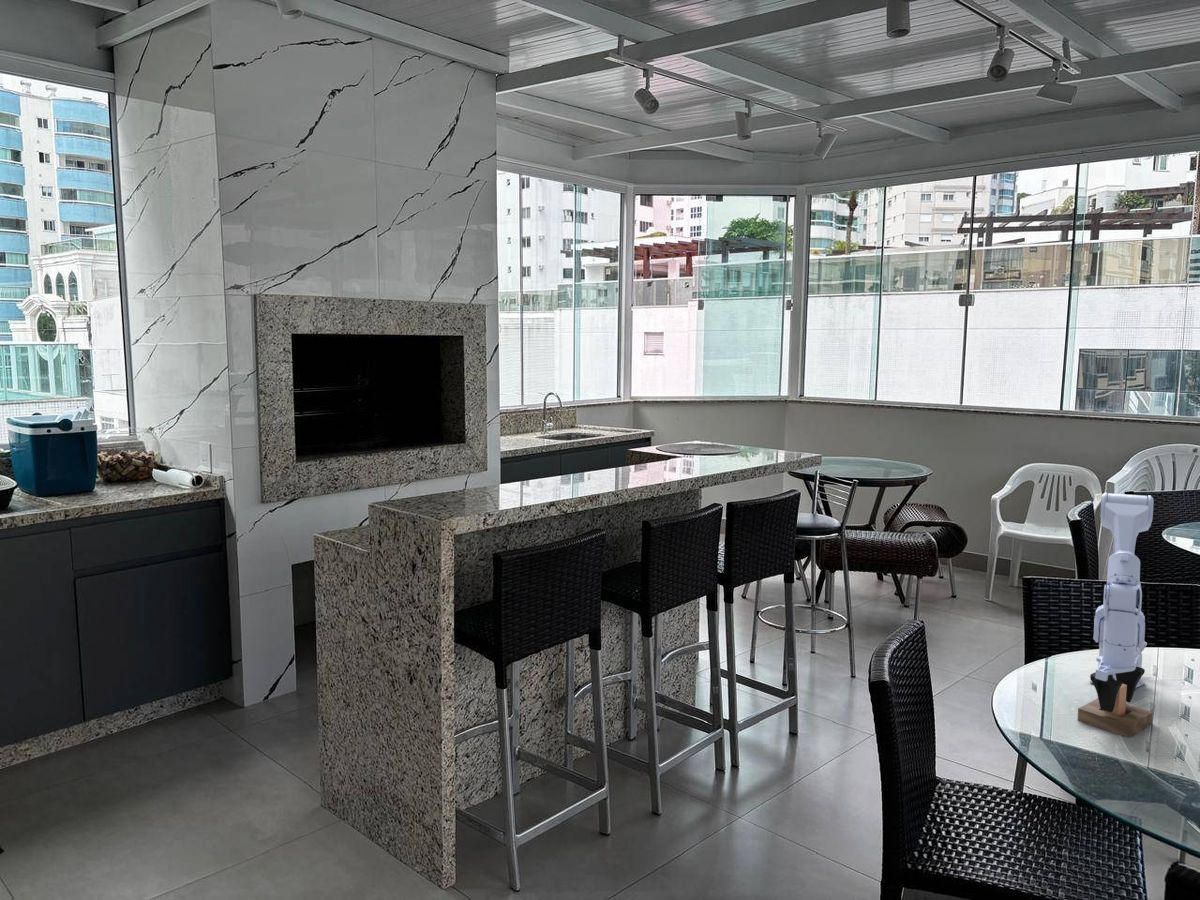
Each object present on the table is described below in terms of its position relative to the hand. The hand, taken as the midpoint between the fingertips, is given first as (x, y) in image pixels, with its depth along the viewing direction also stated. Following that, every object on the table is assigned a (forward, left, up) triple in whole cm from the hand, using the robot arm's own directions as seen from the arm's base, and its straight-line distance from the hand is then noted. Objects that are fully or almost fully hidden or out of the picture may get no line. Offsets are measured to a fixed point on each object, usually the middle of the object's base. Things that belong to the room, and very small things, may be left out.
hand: (1115, 705), depth 179 cm
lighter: (-30, -11, -4) cm, 32 cm away
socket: (0, 0, -3) cm, 3 cm away
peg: (0, 0, -4) cm, 4 cm away
